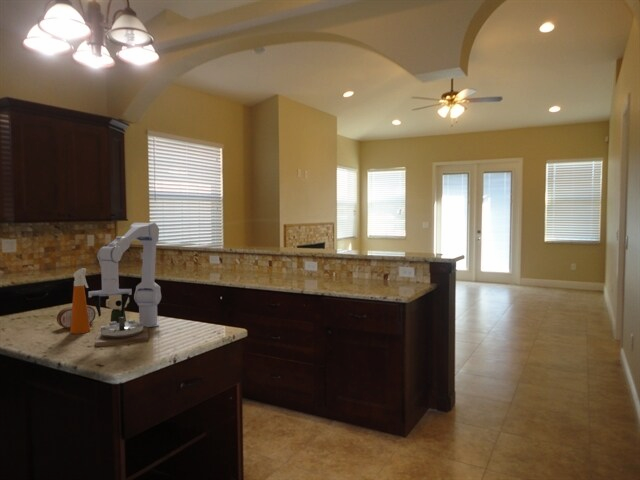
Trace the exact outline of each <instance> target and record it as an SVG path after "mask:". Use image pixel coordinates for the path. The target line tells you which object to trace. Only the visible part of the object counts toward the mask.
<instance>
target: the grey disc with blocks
mask: <svg viewBox="0 0 640 480" xmlns="http://www.w3.org/2000/svg"><path fill="white" fill-rule="evenodd" d="M100 330H101V336H102V337H104V338H127V337H132V336H136V335H139V334H141V333H142V332H143V322H142V323H138V322H137V321H136V320H135V319H129V320H127V321H126V322H125V317H119V323H117V322H116V321H114V322H109V324H107V325H100Z"/></svg>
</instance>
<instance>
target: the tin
mask: <svg viewBox="0 0 640 480" xmlns="http://www.w3.org/2000/svg"><path fill="white" fill-rule="evenodd" d="M87 311H88V318H89V325H90V324H91V323H93V322H94V320H95V319H96V315H97V314H96V310H95V309H94V307H92V306H90V305H88V304H87ZM71 318H72V306H69V307H65V308H63V309H61V310H60V311H59V312H58V314H57V316H56V323H57V324H58V325H59V326H60V327H63V328H65V329H71Z"/></svg>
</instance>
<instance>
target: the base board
mask: <svg viewBox="0 0 640 480" xmlns="http://www.w3.org/2000/svg"><path fill="white" fill-rule="evenodd" d="M143 342H144V343H145V342H149V335H148V327H147V326H143V332H142V333H141V334H139V335H136V336H132V337H127V338H104V337H102V336H101V329H99V330H97V334H96V338H95V341H94V346H95V348H96V347H107V346H113V345H114V346H115V345H125V344H133V343H143Z"/></svg>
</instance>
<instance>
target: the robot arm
mask: <svg viewBox="0 0 640 480" xmlns="http://www.w3.org/2000/svg"><path fill="white" fill-rule="evenodd" d="M129 226H130V227H129V229H128V231H127V232H126V233H124V235H123V236H122V235H120V236H119V235H117V236H116V237H115V239H114V240H112V241H111V242H109V243H108V245H107V246H102V247H100V248H99V249H98V252H97V254H96V257H97V259H98V261H99V266H100V268H101V269H100V270H101V289H99V290H91V291H88V298H91V301H92V303H93V304H94V305H95V308H96V311H97V314H98V317H101V316H102V310H101V297H109V296H114V295H122V296H121V298H122V309H121V315H123V313H124V311H125V308H126V307H125V304H126V302H127V300H128V297H129V298H130V296H131V295H132V294H133V293H132V290H133V289H132V288H119V287H120V283H119V262H120V261H121V259H122V256H123V253H125V252H126V251H127V250H128V249H130V246H131V243H132V242H133V241H135V240H136V241H138V242H139V243H141V244H142V246H143V247H142V266H141V267H142V268H141V282H139V283H138V284H137V285H136V286H135V291H134V294H133V299H134V301H135V303H136V304H137V305H136V306H138V317H139V319H138V320H139V321H138V322H137V323H142V322H143V326H147V328H151V327H159V326H160V325H159V320H158V305H159V304H160V302H161V300H162V293H161V292H162V291H161V286H160V285H159V284H158V283H156V282H155V279H156V278H155V275H156V257H157V256H156V255H157V243H158V242H159V236H160V229H159V226H158V225H157V222H133V223H132V224H131V225H129ZM115 293H116V294H115Z"/></svg>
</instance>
